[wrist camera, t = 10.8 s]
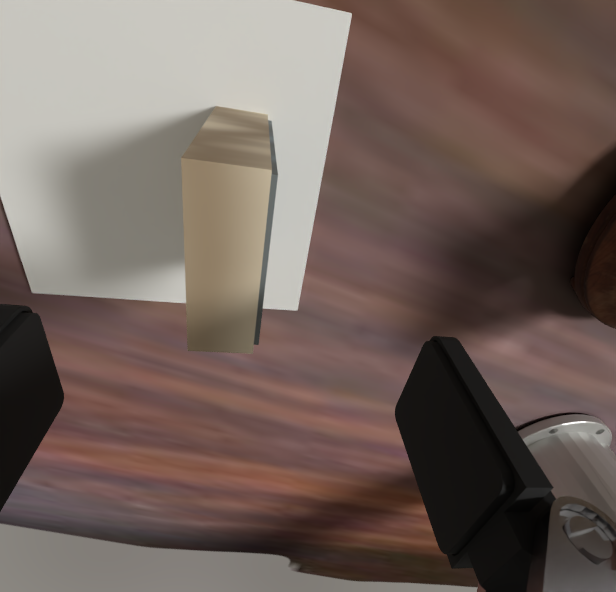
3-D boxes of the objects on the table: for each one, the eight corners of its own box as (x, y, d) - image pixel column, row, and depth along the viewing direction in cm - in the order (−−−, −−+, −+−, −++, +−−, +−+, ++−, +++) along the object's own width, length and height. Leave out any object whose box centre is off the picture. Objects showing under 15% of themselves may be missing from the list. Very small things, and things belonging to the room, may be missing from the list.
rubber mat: (349, 13, 16) (352, 13, 15) (296, 306, 25) (297, 310, 24) (-81, -82, 13) (-92, -85, 12) (36, 288, 22) (31, 292, 21)
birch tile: (271, 115, 17) (279, 171, 10) (259, 245, 21) (257, 353, 14) (216, 105, 17) (180, 157, 10) (213, 241, 21) (187, 350, 13)
